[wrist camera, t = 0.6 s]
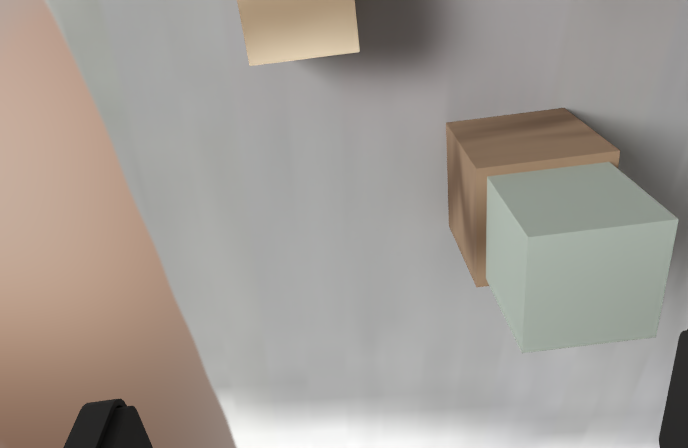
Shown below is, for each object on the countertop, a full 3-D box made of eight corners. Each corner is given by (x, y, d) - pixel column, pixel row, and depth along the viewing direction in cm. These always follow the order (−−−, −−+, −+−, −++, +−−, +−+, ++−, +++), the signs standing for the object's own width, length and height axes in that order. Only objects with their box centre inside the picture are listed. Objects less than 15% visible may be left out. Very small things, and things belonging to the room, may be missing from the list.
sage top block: (487, 176, 28) (528, 237, 23) (609, 161, 28) (678, 219, 23) (485, 278, 31) (521, 353, 26) (596, 264, 31) (655, 337, 26)
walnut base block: (446, 122, 34) (476, 168, 28) (563, 107, 34) (620, 150, 28) (449, 225, 37) (476, 287, 31) (556, 212, 37) (605, 271, 31)
